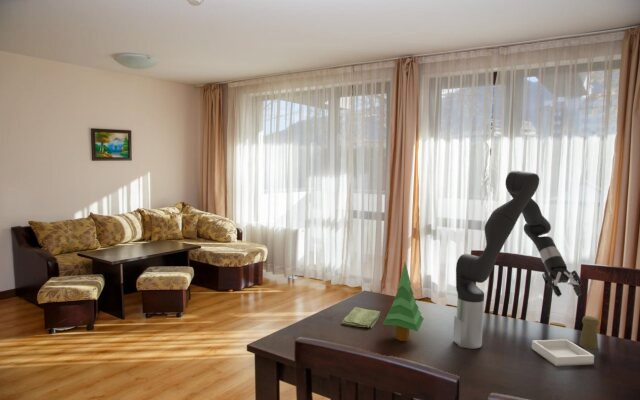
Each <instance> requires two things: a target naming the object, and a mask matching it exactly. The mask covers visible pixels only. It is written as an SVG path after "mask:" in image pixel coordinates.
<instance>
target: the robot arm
mask: <svg viewBox="0 0 640 400" xmlns="http://www.w3.org/2000/svg"><path fill="white" fill-rule="evenodd" d="M539 185H540V177H539V175H538V174H537V173H535V172H530V171H523V170H522V171H521V170H511V171H510V172H509V173H508V174H507V176H506V178H505V187H506V188H505V189H506V190H507V192H508V193H509V195H510V196H511V199H510V200H508V201H507V202H505V203H504V204H502V205H500V206H498V207H497V208H496V209H494V210H493V211H492V212H491V214H490V216H489V218H488V219H487V220H486V223H485V225H484V235H485V236H484V237H485V241H486V242H485V243H486V244H485V247H484V250H483V252H482V254H481V255H480V256H478V255H474V254H469V253H464V254H461V255H460V256H459V257H458V258H457V261H456V265H455V286H456V287H455V289H456V292H457V301H456V302H457V304H456V315H455V316H454V321H453V340H452V341H453V342H454V343H455V344H457V346H458V347H460V348H466V349H469V350H470V349H473V350H474V349H475V350H476V349H479V348H481V347H482V346H483V345H482V344H483V329H484V328H483V326H484V325H483V324H484V322H483V321H484V310H485V309H484V308H485V307H484V305H485V292H484V291H483V290H482V289H481V288H480V287H478V285H476V284H475V283H479V284H481V283H485V282H486V281H487V280H488V279H489V277H490V275H491V274H492V271H493V269H494V266H495V264H496V262H497V259H498V257H499V255H500V252H501V251H502V248H503V246H504V245H505V243H506V241H507V239H508V237H509V236H510V235H511V233H512V231H513V230H514V228H515V226H516V223H517V222H518V220H519V218H520V216H521V215H522V217H523V218H524V221H525V224H524V226H523V231H524V233H525V234H526V236H527V237H528V238H529V239H530V240H531V241H532V242H533V244H534V245H535V246H536V248H537V251H538V253H539V256H540V259H541V261H542V263H543V265H544V268H545V271H544V272H543V273H542V275H541V276H542V278H543V281H544V283H545V286H546V287H547V288H551V289H552V291H553V292H554V294H555V296H557V298H559V297H561V296H562V292H561V289H560V287H559V286H558V284H561V283H562V284H567V285H569V286H571V287H573V290H574V293H575V295H576V296H577V297H580V296H581V295H582V294H583V292H582V290H581V288H580V285H582V284H583V281H582V279H581V277H580V275H579V274H578V272H577V270H573V271H569V270H568V269H567V268H568V267H567V263H566V262H565V259H564V257H563V256H562V254H561V252H560V250H559V249H558V248H557V246H556V243H555V241H554V240H553V238H552V237H551V236H543V235H546V234H549V233H550V231H551V229H552V226H551V222H549V221H548V220H547V218H546V217H544V216H543V214H542V210H541V208H540V205H539V204H538V203H537V202H536V201H535V200H534V199H533V196H534V195H535V193H536V192H537V190H538V187H539Z"/></svg>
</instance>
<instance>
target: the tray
mask: <svg viewBox="0 0 640 400" xmlns="http://www.w3.org/2000/svg"><path fill="white" fill-rule="evenodd" d="M531 349H532V351H535V352H536V353H537V354H538V355H540V356H541V357H543V358H544V359H545V360H546V361H548V362H550V363H552V364H553V365H554V366H556V367H562V366H563V367H564V366H581V365H582V366H584V365H594V363H595V355H594V354H593V353H591V352H589V351H587V350H585V348H583V347H582V346H580V345H577V344H575V343H574V342H572V341H570V339H569V340H568V339H567V338H566V339H565V338H564V339H563V338H561V339H544V340H543V339H542V340H541V339H537V340H536V339H535V340H532V341H531Z"/></svg>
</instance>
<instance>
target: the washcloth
mask: <svg viewBox="0 0 640 400" xmlns="http://www.w3.org/2000/svg"><path fill="white" fill-rule="evenodd" d="M380 315H381V311H378V310H374V309H373V310H372V309H366V308H363V307H359V306H357V307H356V306H355V307H354V308H353V309H352V310H351V311H350V312H349V313H348V315H346V316H345V317H344V318H343V319H342V321H341V325H344V326H345V325H346V326H351V327H359V328H365V327H367V328H366V329H371V328H372V329H373V328H374V327H375V325H376V324H377V321H378V320H379V319H380V317H379V316H380Z"/></svg>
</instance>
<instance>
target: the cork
mask: <svg viewBox="0 0 640 400" xmlns="http://www.w3.org/2000/svg"><path fill="white" fill-rule="evenodd" d="M581 322H582V323H581V324H583V326H582V329H581V330H582V331H581V334H580V339H579V343H578V344H579V345H578V346H579V347H581V348H583V349H588V350H598V349H599V342H598V327H599V323H600V322H599V319H598V318H597V317H595V316H590V315H584V316H583V317H582V320H581Z"/></svg>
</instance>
